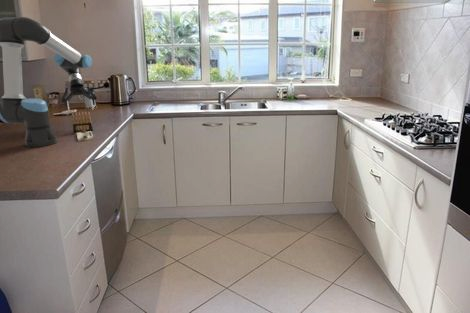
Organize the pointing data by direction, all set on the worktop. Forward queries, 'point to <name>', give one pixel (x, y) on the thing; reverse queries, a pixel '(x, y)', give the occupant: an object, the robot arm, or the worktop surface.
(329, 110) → the worktop surface
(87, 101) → the glass holder
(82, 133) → the plate
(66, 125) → the worktop surface
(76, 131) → the ammunition clip
